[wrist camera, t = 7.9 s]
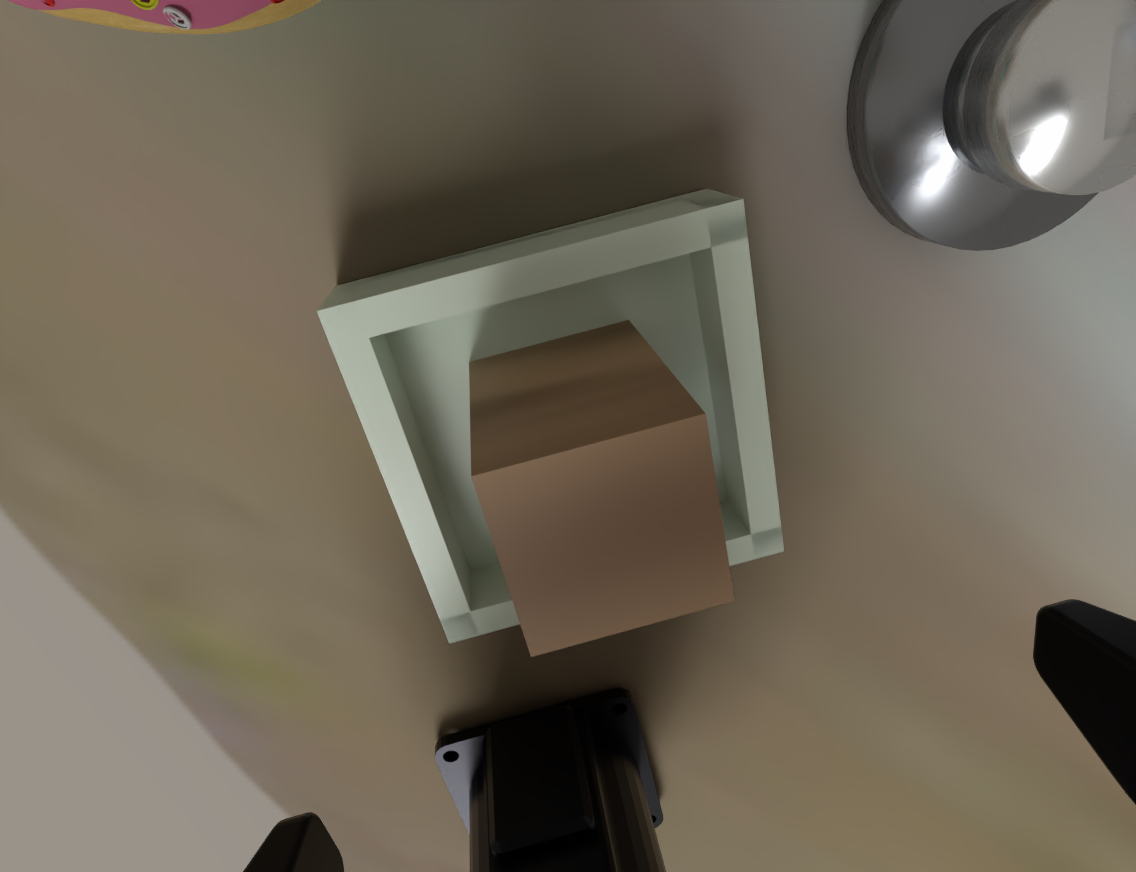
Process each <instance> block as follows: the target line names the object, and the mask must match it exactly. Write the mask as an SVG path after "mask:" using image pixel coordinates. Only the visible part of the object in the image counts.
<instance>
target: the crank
mask: <svg viewBox="0 0 1136 872" xmlns="http://www.w3.org/2000/svg"><path fill="white" fill-rule="evenodd" d="M963 126H964V132H965V138H966V141H967V144H968V148H969V150H970V152H971V154H972V156H973V158H974V160H975V161H976V163H977V164H978V166H979V167H980V168H981V169H982V170H983V171H984V172H985V173H986V174H987V175H988V176H989V177H991V178H992V179H993V180H995V181H996V182H999V183H1001V184H1003V185H1005V186H1009V187H1012V188H1018V189H1026V190H1034V191H1042V192H1050V193H1058V194H1067V195H1087V194H1092V193H1097V192H1101V191H1104V190H1107V189H1110V188H1112V187H1114V186H1116V185H1118V184H1121V183H1123V182H1124V181H1126V180H1128V179H1129V178H1131V177H1133V176H1134V175H1136V0H1019V1H1018V2H1017V3H1015V4H1014V5H1013V6H1012V7H1011V8H1010V9H1009V10H1008V11H1007V12H1006V13H1005V14H1004V15H1003V16H1002V17H1001V18H1000V20H999V21H998V22H997V23H996V25H995V26H994V27H993V28H992V30H991V31H990V33H989V34H988V36H987V37H986V39H985V40H984V42H983V44H982V46H981V48H980V50H979V52H978V53H977V55H976V58H975V60H974V63H973V65H972V68H971V70H970V74H969V77H968V80H967V84H966V89H965V94H964V102H963Z"/></svg>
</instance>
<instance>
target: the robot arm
mask: <svg viewBox="0 0 1136 872" xmlns="http://www.w3.org/2000/svg"><path fill="white" fill-rule="evenodd" d="M1033 658H1034V663H1035V666H1036V669H1037V671H1038V673H1039V675H1040V676H1041V678H1042V679H1043V681H1044V682H1045V683H1046V685H1047V686H1048V688H1049V689H1050V690H1051V692H1052V693H1053V694H1054V696H1055V697H1056V699H1057V700H1058V701H1059V703H1060V704H1061V705H1062V707H1063V708H1064V710H1065V711H1066V712H1067V714H1068V715H1069V716H1070V718H1071V719H1072V721H1073V722H1074V723H1075V725H1076V726H1077V727H1078V729H1079V730H1080V732H1081V733H1082V734H1083V736H1084V737H1085V739H1086V740H1087V741H1088V743H1089V744H1090V745H1091V747H1092V748H1093V750H1094V751H1095V752H1096V754H1097V755H1098V756H1099V758H1100V759H1101V761H1102V762H1103V763H1104V765H1105V766H1106V767H1107V769H1108V770H1109V772H1110V773H1111V774H1112V776H1113V777H1114V778H1115V780H1116V781H1117V782H1118V783H1119V785H1120V786H1121V787H1122V789H1123V790H1124V791H1125V793H1126V794H1127V795H1128V796H1129V797H1130V799H1131V800H1132V801H1133V802H1134V803H1135V805H1136V621H1135V620H1132V619H1129V618H1127V617H1124V616H1121V615H1118V614H1116V613H1113V612H1110V611H1108V610H1105V609H1102V608H1100V607H1097V606H1094V605H1092V604H1089V603H1086V602H1083V601H1080V600H1075V599H1070V600H1065V601H1061V602H1057V603H1054V604H1050V605H1047V606H1044V607H1042V608H1041V609H1040V610H1039V611H1038V613H1037V616H1036V627H1035V638H1034V650H1033ZM617 703H622V704H620V705H618V706H614V705H615V704H617ZM452 750H453V751H454V752H448V751H452ZM435 760H436V763H437V765H438V767H439V769H440V772H441V774H442V776H443V778H444V780H445V783H446V785H447V787H448V789H449V791H450V794H451V796H452V798H453V800H454V802H455V805H456V807H457V809H458V811H459V813H460V816H461V818H462V820H463V822H464V824H465V827H466V829H467V831H468V833H469V836H470V872H666V870H665V866H664V862H663V858H662V855H661V851H660V847H659V844H658V840H657V836H656V832H655V829H654V828H656V827H658V826H659V825H660V824H661V823H662V821H663V814H662V810H661V806H660V802H659V798H658V794H657V791H656V787H655V783H654V779H653V775H652V771H651V767H650V764H649V760H648V756H647V752H646V748H645V744H644V741H643V737H642V733H641V729H640V725H639V721H638V718H637V714H636V710H635V706H634V702H633V699H632V696H631V694H630V692H629V691H627V690H626V689H623V688H615V689H610V690H607V691H603V692H600V693H596V694H593V695H589V696H585V697H582V698H578V699H575V700H571V701H568V702H564V703H560V704H557V705H553V706H550V707H546V708H543V709H539V710H535V711H532V712H528V713H525V714H521V715H518V716H514V717H510V718H507V719H503V720H500V721H496V722H493V723H489V724H485V725H482V726H478V727H475V728H471V729H468V730H464V731H460V732H457V733H453V734H450V735H446V736H444V737H442V738H440V739H439V740H438V741H437V743H436V746H435ZM243 872H344V867H343V861H342V857H341V854H340V852H339V850H338V848H337V846H336V845H335V843H334V841H333V840H332V838H331V836H330V835H329V833H328V831H327V830H326V828H325V826H324V825H323V823H322V821H321V820H320V818H319V817H318V816H317V815H316V814H314V813H312V812H308V813H304V814H301V815H297V816H294V817H290V818H286V819H284V820H282V821H280V822H279V823H278V824H277V825H276V826H275V827H274V828H273V829H272V831H271V832H270V833H269V835H268V836H267V838H266V839H265V841H264V842H263V843H262V845H261V847H260V848H259V849H258V851H257V852H256V854H255V855H254V857H253V858H252V859H251V861H250V863H249V864H248V865H247V867H246V868H245V870H244V871H243Z"/></svg>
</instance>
